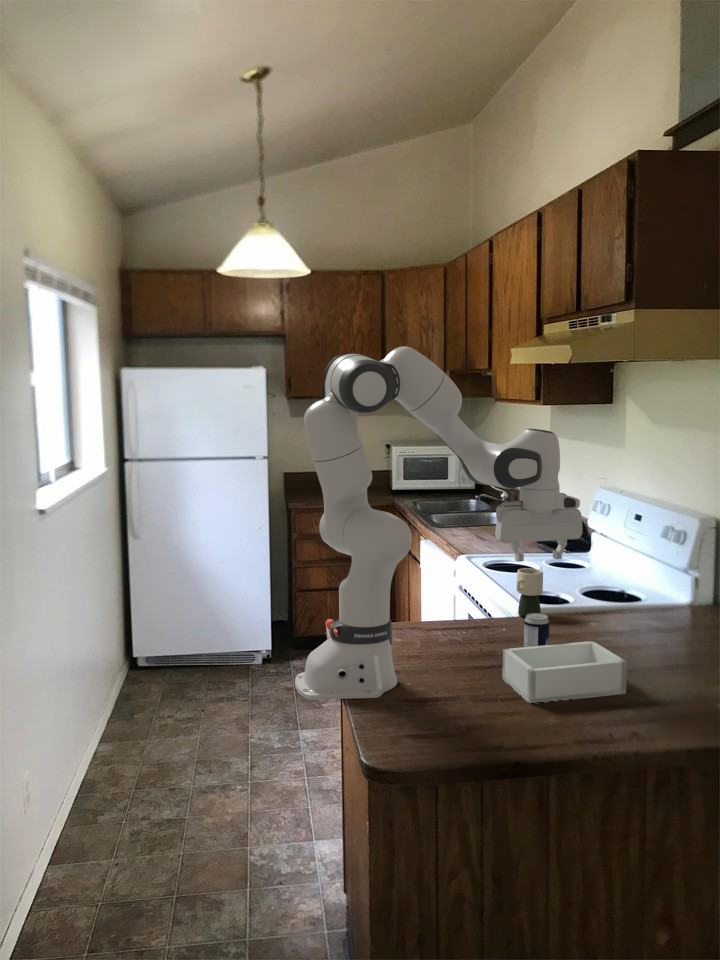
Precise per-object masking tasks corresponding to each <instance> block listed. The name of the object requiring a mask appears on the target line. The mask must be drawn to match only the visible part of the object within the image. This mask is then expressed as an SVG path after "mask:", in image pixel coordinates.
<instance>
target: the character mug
mask: <svg viewBox="0 0 720 960" xmlns="http://www.w3.org/2000/svg"><path fill="white" fill-rule="evenodd" d="M543 585H544V571H543V570H542V569H538V568H530V567H528V568H527V567H526V568H525V567H523V568H519V569H517V575H516V592H517V593H519V594H521V595H520V598H519V603H518V610H517V614H518V615H519V616H524V617H525V618H526V615H527V614H530V613H541V604H540V603H541V602H540V597H539V596H540V595H542V594H543V589H544V586H543ZM541 614H542V613H541Z"/></svg>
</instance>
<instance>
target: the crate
mask: <svg viewBox="0 0 720 960" xmlns="http://www.w3.org/2000/svg"><path fill="white" fill-rule="evenodd" d="M627 673H628V661H626V659H624V658H621V657H620V656H618V655H617V654H615V653H614V652H611V651H610V650H609V649H607V648H605V647H604V646H602V645H601V644H599V643H597V642H595V641H592V640H591V641H582V642H581V641H579V642H568V643H558V644H557V643H556V644H549V645H544V646H533V647H524V646H522V647H513V648H511V647H510V648H503V649H502V673H501V674H502V679H503V680H504V681H503V680H502V679H501V680H502V681H503V682H504V683H505V684H507V685H508V684H509V685H510V686H511V687H512V688H513V689H512V688H511V687H510V686H509V685H508V686H509V687H510V688H511V689H512V690H513V691H515V693H517V694H518V695H519V696H520V695H521V696H522V697H521V696H520V697H521V698H522V699H523V700H525V701H526V702H527V703H528V702H529V703H530V704H529V703H528V704H529V705H532V704H531V703H535V704H538V703H537V702H544V703H550V702H549V701H554V702H559V701H558V700H563V701H570V700H569V699H572V700H580V699H589V698H590V699H591V698H598V697H607V696H617V695H619V696H620V695H626V694H627V678H628V677H627V675H628V674H627Z"/></svg>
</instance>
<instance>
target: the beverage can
mask: <svg viewBox="0 0 720 960" xmlns="http://www.w3.org/2000/svg"><path fill="white" fill-rule="evenodd" d="M523 626H524V628H523V631H524V632H523V647H533V646H544V645H550V620H549V616H548V615H547V614H545V613H530V614H527V615H526V617H525V619H524V624H523Z"/></svg>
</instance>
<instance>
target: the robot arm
mask: <svg viewBox="0 0 720 960" xmlns="http://www.w3.org/2000/svg"><path fill="white" fill-rule="evenodd" d="M320 394H321V395H320V396H321V398H322V399H320V400H317V401H315V402H314V403H312V404H311V405H310V406H309V407H308V408H307V409H306V410H305V413H304V416H303V423H304V431H305V437H306V443H307V445H308V449H309V454H310V456H311V460H312V462H313V465H314V470H315V471H316V475H317V478H318V482H319V485H320V487H321V491H322V498H323V514H322V516H321V518H320V520H319V525H318V526H319V527H318V528H319V529H318V530H319V535H320V537H321V539H322V541H323V542H324V543H325V544H327V545H328V546H329V547H330V548H332V549H334V550H335V551H336V552H338V553H341V554H344V555H347V556H351V565H350V569H349V573H348V575H347V577H346V578H344V579H343V580H342V581H341V582H340V585H339V587H338V602H339V603H338V606H339V607H338V608H339V610H338V611H339V612H338V614H339V617H338V619H337V620H336V621H334V620H333V619H332V618H328V619H326V621H325V627H326V628H327V630H329V631H330V633H329V634H330V637H329V638H328V639H326V640H325V641H324V642H322V644H320V645H319V646H318V647H316V648H315V649H314V650H312V651H311V652H310V653H309V654H308V656H307V658H306V661H305V667H304V671H303V672H299V673H298V674H297V675H296V676H295V679H294V687H295V690H296V692H298V694H299V695H301V696H302V697H303V698H305V699H308V700H337V699H338V700H339V699H340V700H342V699H343V700H344V699H345V700H346V699H347V700H348V699H351V700H352V699H378V698H380V697H382V696H383V694H384V693H385V692H387V691H389V690H392V689H394V688H395V687H396V686H397V684H398V678H397V676H396V672H395V667H394V661H393V654H392V646H391V645H392V643H393V624H392V619H391V618H390V614H391V613H390V612H391V610H390V609H391V607H390V606H391V604H390V603H391V585H392V582H393V581H392V580H393V576H394V573H395V570H396V568H397V566H398V564H399V563H400V562H401V561H402V560H403V559H405V558H406V556H408V553H409V551H410V549H411V547H412V542H413V541H412V539H413V535H412V531H411V528H410V526H409V525H408V524H407V522H405V521H404V520H403V519H402V518H400V517H398V516H397V515H394V514H393V513H391V512H387V511H383V510H380V509H379V510H378V509H373V508H372V506H370V503H369V501H368V499H369V498H368V488H369V486H370V485H371V483H372V481H373V472H372V468H371V466H370V463H369V459H368V456H367V453H366V450H365V447H364V444H363V440H362V436H361V435H360V431H359V427H358V417H359V415H360V414H371V413H374V412H377V411H378V410H380V409H382V408H383V407H385V405H387V404H388V403H390V402H391V401H393V400H395V401H397V402H398V403H399V404H400V405H401V406H402V407H403V408H404V409H405V410H406V411H408V413H410V414H411V415H412V416H413V417H414V418H416V419H417V420H418V421H419V422H420V423H422V424H423V425H425V427H427V428H429V429H430V430H431V431H432V432H433V433H434V434H435V435H436V436H437V437H438V438H439V440H441V441H442V442H443V443H444V444H445V445H446V446H447V447H448V448H449V450H451V451H452V453H453V454H455V456H456V457H457V458H458V460H459V463H461V466H462V468H463V471H464V473H465V475H466V476H467V477H468V478H469V480H470V481H472V483H475V484H477V485H485V486H492V487H497V488H501V489H506V490H512V489H517V488H519V500H516V501H515V500H513V501H503V502H502V503H500V504H499V505H498V506H497V507H496V509H495V512H496V513H495V518H496V522H495V531H494V533H495V534H494V537H495V539H496V540H497V541H498V542H499V543H501V544H509V547H510V548H511V550H512V551H513V553H514V561H515V562H517V563H520V562H524V561H525V560H524V559H525V554H524V553H522V552H520V550H519V548H520V545H521V543H531V542H549V541H556V542H557V544H558V545H557V547H556V549H555V550H554V549H553V550H552V558H553V559H554V560H562V559H563V552H564V551H565V550H564V549H565V548H566V546H567V545H568V540H579V539H580V538H581V537H582V535H583V515H582V513H581V510H579V507H580V505H581V499H579V498H576V497H574V496H572V495H568V494H566V493H563V492H560V487H561V486H560V483H559V472H560V469H561V452H560V442H559V438H558V436H557V434H555V432H553V431H550V430H544V429H539V428H538V429H537V428H526V429H523V431H522V432H521V434H519V435H518V436H516V437H515V438H514V439H512V440H510V441H508V442H506V443H504V444H502V443H501V444H500V443H495V442H491V441H486V440H483V439H481V438H480V437H478V436H477V435H476V434H475V433H474V432H473V431H472V430H471V429H470V428H469V427H468V425H466V424H465V422H463V420H462V419H461V418H460V417H459V415H458V414H459V413H460V411H461V409H462V404H463V403H462V402H463V395H462V393H461V390H460V389H459V388H458V386H457V385H456V383H455V382H454V381H453V380H452V379H451V378H450V377H449V376H448V375H447V374H446V372H445V371H443V370H442V369H441V368H440V367H439V366H438V365H436V364H435V362H433V361H432V360H431V359H429V358H427V357H426V356H425V355H424V354H422V353H420V352H419V351H418V350H416V349H415V348H412V347H410V346H404V345H403V346H399V347H396V348H394V349H392V350H391V351H390V352H389V353H387V354H386V356H385V357H384V358H383V359H381V360H379V361H378V360H376V359H373V358H371V357H369V356H366V355H364V354H359V353H355V352H344V353H341V354H338V355H336V356H335V357H333V359H332V360H331V361H330V362H329V363H328V365H327V367H326V369H325V372H324V377H323V383H322V388H321V393H320ZM359 413H360V414H359Z"/></svg>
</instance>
